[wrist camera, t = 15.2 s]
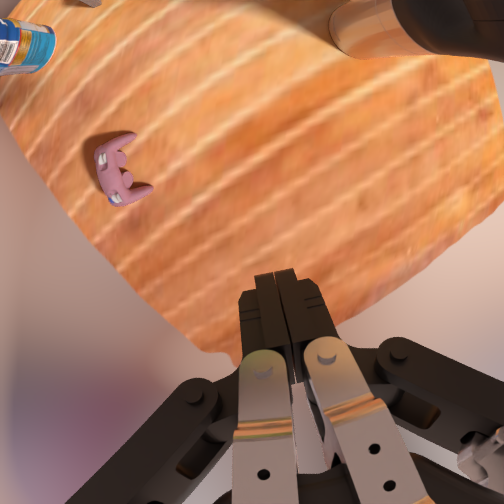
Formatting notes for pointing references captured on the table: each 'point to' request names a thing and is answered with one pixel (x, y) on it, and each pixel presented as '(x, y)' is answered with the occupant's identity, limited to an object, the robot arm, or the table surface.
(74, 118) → the table surface
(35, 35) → the beverage bottle
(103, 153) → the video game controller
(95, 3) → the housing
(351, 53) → the robot arm
